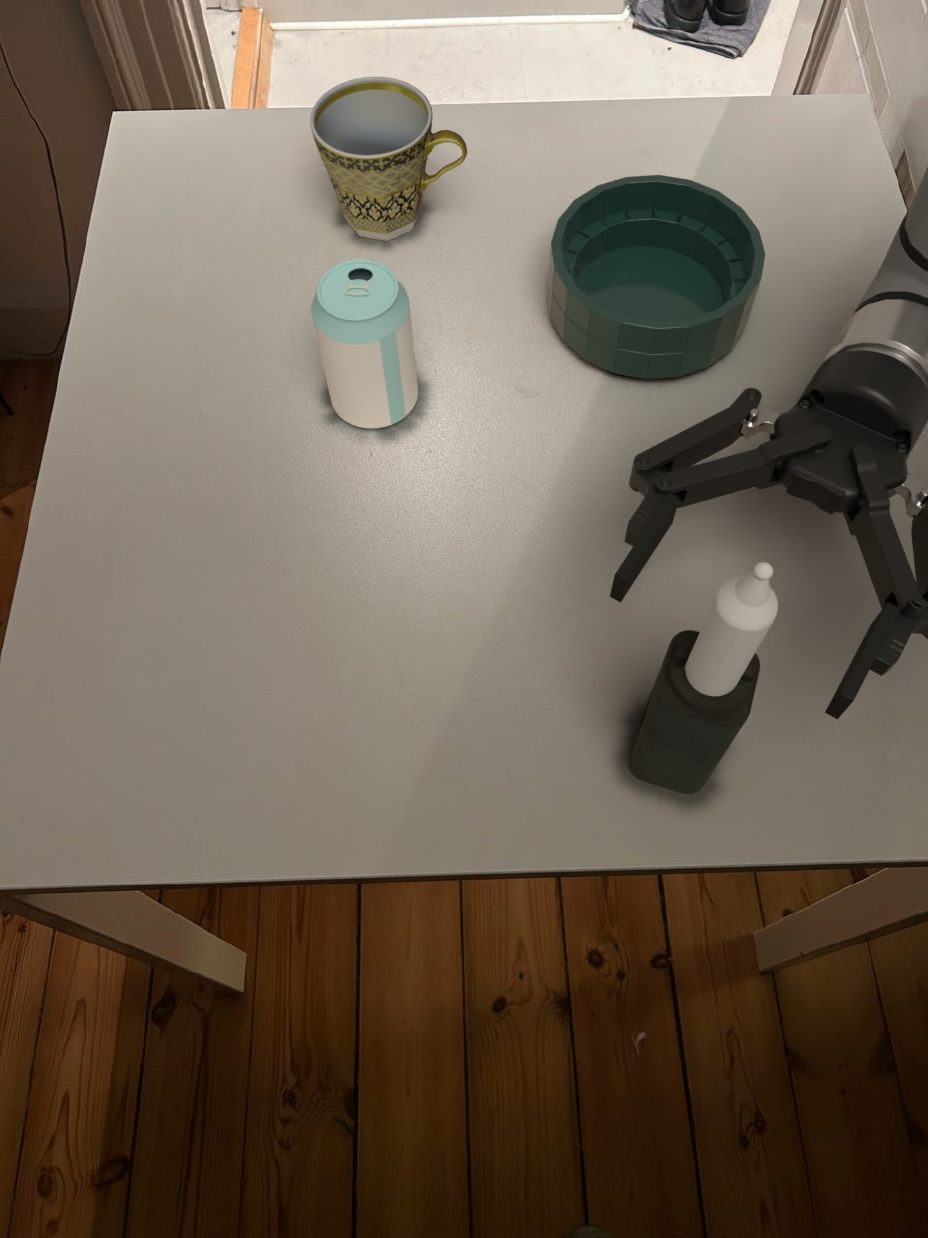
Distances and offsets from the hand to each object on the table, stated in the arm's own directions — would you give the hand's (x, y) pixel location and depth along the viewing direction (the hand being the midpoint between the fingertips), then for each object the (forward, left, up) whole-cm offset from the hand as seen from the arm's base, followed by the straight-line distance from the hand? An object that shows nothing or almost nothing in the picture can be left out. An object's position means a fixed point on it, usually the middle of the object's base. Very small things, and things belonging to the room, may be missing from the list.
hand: (724, 646), depth 55 cm
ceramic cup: (+44, -30, -13) cm, 55 cm away
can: (+34, -12, -13) cm, 38 cm away
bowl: (+20, -32, -13) cm, 40 cm away
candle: (0, +2, -13) cm, 13 cm away
